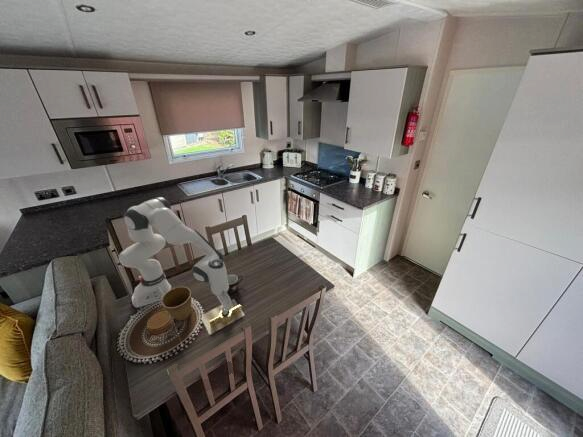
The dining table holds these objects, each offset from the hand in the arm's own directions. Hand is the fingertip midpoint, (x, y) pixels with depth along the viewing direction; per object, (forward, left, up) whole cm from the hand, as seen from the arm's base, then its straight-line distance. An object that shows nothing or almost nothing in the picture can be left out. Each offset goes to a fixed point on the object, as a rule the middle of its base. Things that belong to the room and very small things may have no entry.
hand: (223, 304), depth 130 cm
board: (-1, +3, -13) cm, 13 cm away
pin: (0, 0, -12) cm, 12 cm away
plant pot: (-19, +18, -13) cm, 29 cm away
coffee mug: (+14, +18, -13) cm, 26 cm away
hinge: (0, 0, -12) cm, 12 cm away
